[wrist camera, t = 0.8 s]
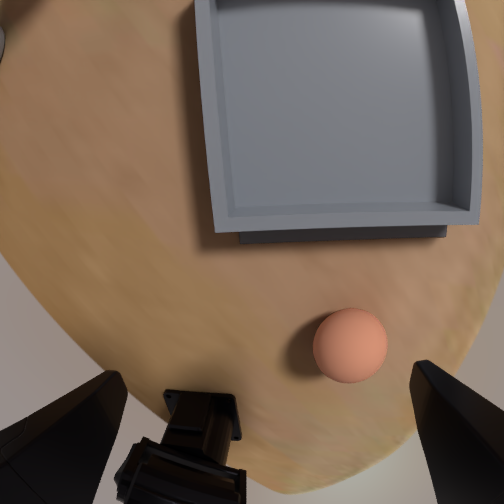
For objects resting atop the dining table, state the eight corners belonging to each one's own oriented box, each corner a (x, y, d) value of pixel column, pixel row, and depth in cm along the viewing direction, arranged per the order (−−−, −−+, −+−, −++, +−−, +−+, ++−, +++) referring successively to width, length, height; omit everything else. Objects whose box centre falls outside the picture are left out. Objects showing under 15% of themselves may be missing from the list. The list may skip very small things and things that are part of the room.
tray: (457, 211, 19) (478, 224, 16) (225, 218, 21) (215, 232, 18) (439, -8, 13) (458, -23, 10) (205, -12, 15) (193, -31, 12)
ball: (374, 350, 23) (388, 394, 18) (310, 353, 24) (313, 400, 19) (381, 293, 21) (401, 333, 17) (311, 296, 22) (315, 339, 17)
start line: (445, 236, 19) (446, 236, 19) (240, 243, 21) (240, 244, 21) (447, 214, 19) (448, 215, 19) (238, 220, 21) (237, 221, 20)
